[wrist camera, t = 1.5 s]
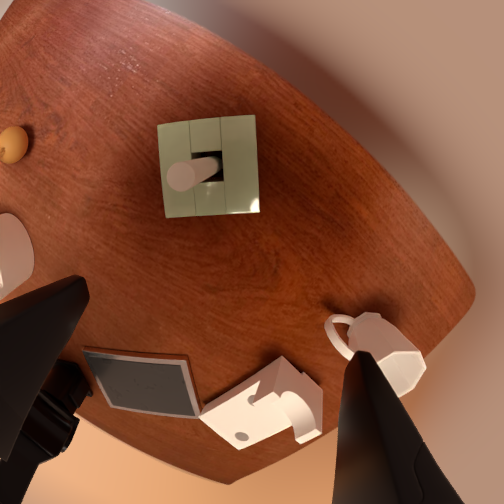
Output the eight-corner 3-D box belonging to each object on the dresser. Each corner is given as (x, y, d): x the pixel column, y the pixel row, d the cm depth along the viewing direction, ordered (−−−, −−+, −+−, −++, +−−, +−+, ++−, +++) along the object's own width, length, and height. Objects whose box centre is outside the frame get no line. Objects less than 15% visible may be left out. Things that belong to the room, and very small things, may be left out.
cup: (366, 361, 29) (387, 412, 22) (298, 329, 28) (309, 386, 20) (406, 316, 27) (440, 362, 20) (341, 274, 26) (369, 323, 18)
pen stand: (177, 208, 24) (165, 218, 21) (171, 127, 21) (156, 124, 18) (259, 203, 24) (259, 212, 20) (255, 119, 21) (255, 114, 18)
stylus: (207, 173, 23) (167, 193, 13) (205, 156, 22) (165, 163, 12) (223, 172, 23) (196, 190, 13) (222, 155, 22) (194, 160, 12)
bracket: (283, 351, 30) (273, 391, 23) (322, 389, 30) (321, 433, 23) (207, 400, 33) (185, 438, 26) (244, 432, 33) (230, 471, 26)
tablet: (112, 403, 34) (110, 407, 33) (84, 346, 30) (81, 350, 29) (203, 414, 33) (202, 419, 32) (187, 355, 30) (185, 361, 29)
